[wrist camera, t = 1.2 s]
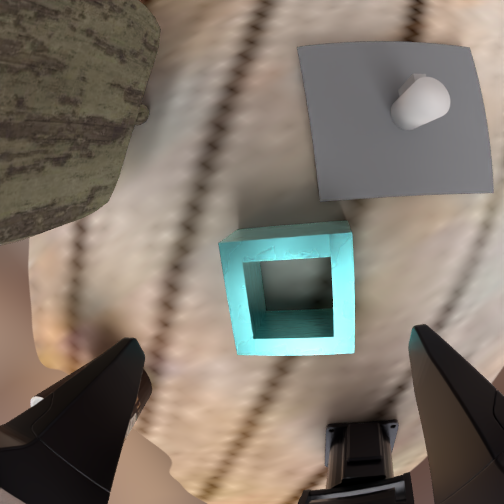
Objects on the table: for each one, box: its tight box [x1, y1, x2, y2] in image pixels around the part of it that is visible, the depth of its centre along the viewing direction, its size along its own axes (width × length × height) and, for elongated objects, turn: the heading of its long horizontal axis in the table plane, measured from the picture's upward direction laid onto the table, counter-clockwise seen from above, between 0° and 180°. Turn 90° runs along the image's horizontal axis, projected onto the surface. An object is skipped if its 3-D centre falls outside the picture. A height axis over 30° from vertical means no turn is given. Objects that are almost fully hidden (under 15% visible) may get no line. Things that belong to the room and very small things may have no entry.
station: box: [297, 41, 494, 202], centre depth 14 cm, size 10×12×6 cm
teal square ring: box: [218, 220, 355, 355], centre depth 19 cm, size 7×7×4 cm
